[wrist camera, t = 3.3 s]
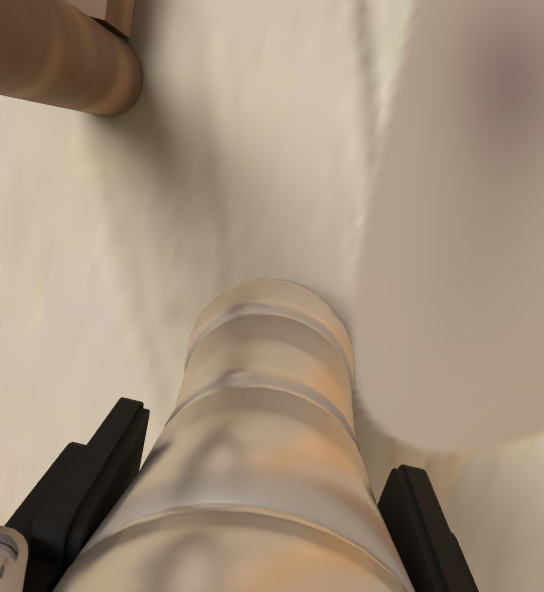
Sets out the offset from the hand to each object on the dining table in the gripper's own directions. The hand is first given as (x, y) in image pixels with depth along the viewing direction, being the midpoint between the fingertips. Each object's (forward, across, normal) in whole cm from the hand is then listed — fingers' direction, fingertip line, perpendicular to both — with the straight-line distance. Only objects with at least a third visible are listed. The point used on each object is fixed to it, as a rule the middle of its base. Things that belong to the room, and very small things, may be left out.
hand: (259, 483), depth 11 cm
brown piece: (+10, +9, -17) cm, 22 cm away
